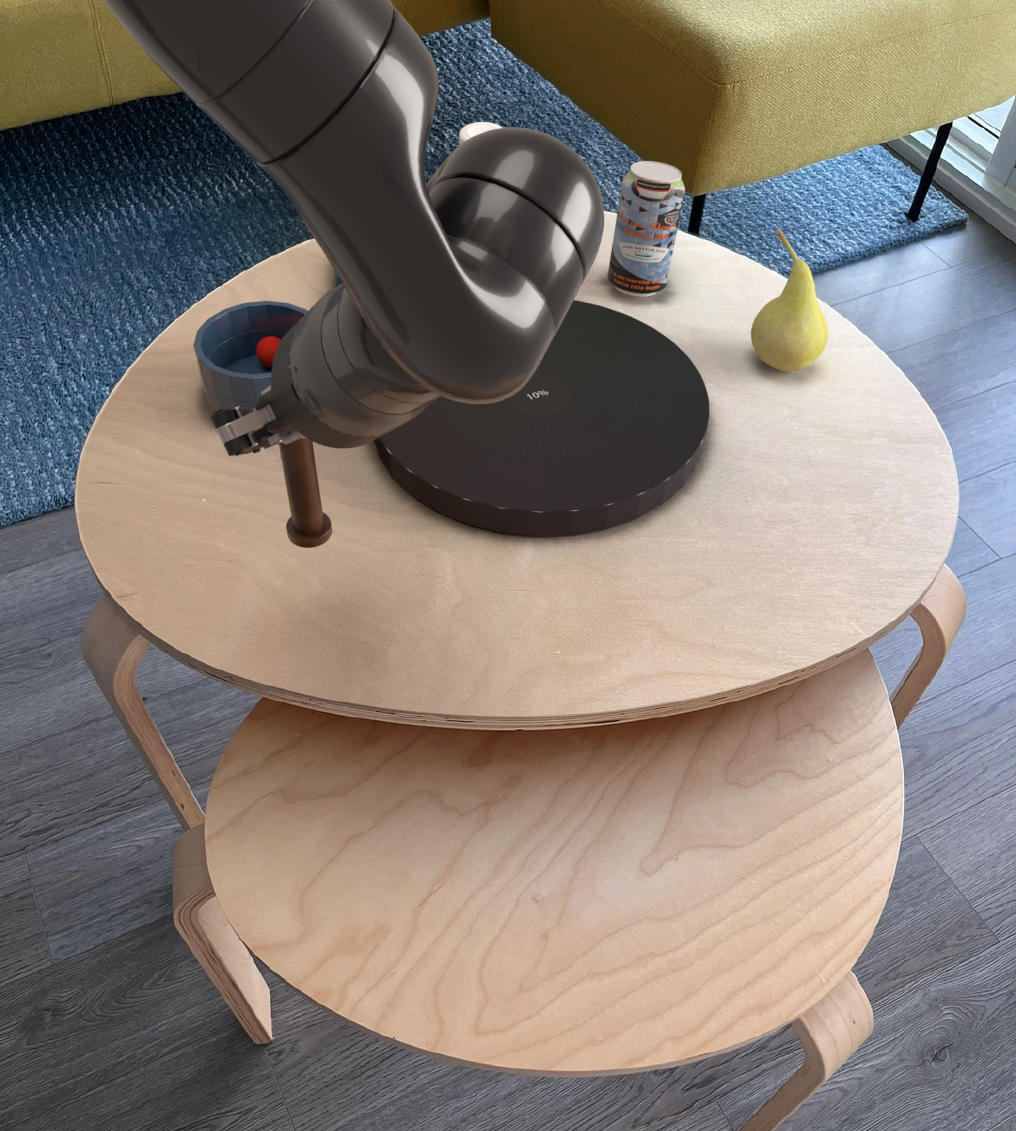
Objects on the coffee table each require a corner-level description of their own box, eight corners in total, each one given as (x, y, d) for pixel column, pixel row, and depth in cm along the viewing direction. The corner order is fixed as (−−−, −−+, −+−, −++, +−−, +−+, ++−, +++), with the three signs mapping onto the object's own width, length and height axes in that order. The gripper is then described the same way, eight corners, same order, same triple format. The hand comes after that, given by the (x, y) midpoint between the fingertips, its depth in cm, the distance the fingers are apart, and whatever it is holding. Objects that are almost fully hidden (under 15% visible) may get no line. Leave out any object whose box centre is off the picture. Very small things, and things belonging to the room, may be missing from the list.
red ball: (277, 377, 103) (272, 351, 101) (252, 368, 104) (247, 342, 101) (295, 361, 104) (291, 335, 102) (270, 352, 105) (266, 326, 103)
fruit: (784, 396, 104) (815, 280, 94) (726, 357, 107) (749, 241, 98) (832, 368, 106) (866, 253, 97) (773, 331, 110) (801, 216, 101)
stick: (315, 554, 79) (293, 413, 69) (278, 538, 80) (251, 396, 70) (341, 526, 81) (322, 385, 71) (304, 511, 82) (281, 369, 72)
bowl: (284, 449, 98) (274, 393, 93) (181, 407, 101) (166, 351, 96) (355, 380, 104) (349, 324, 99) (256, 343, 107) (245, 287, 103)
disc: (565, 287, 114) (567, 260, 112) (774, 446, 99) (781, 419, 97) (308, 393, 103) (304, 366, 100) (501, 591, 88) (501, 565, 86)
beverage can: (600, 299, 113) (610, 184, 103) (617, 261, 117) (629, 147, 108) (661, 311, 112) (677, 196, 102) (676, 272, 116) (693, 158, 107)
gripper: (440, 255, 61) (344, 336, 77) (210, 340, 56) (157, 409, 72) (495, 385, 63) (390, 439, 79) (276, 480, 58) (210, 517, 73)
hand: (279, 424), depth 75 cm, fingers closed on stick, 2 cm apart
